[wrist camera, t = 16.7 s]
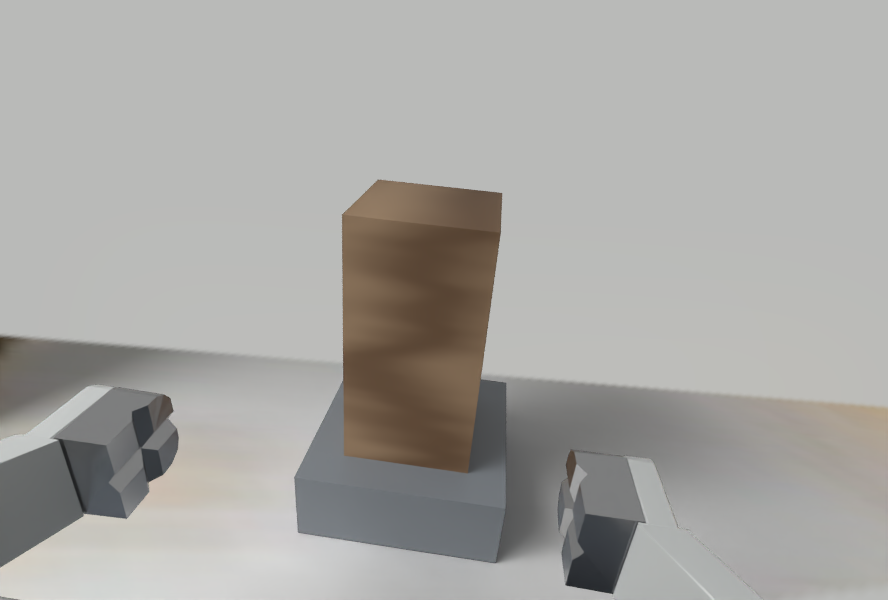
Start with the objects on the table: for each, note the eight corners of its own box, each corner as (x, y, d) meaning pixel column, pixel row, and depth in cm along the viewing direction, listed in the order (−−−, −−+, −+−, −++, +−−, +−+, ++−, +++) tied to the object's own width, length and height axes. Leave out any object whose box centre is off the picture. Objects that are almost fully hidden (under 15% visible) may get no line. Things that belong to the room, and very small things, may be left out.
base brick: (297, 532, 21) (294, 477, 19) (351, 408, 28) (352, 362, 26) (495, 563, 20) (505, 508, 19) (498, 429, 27) (506, 382, 26)
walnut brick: (343, 455, 20) (342, 214, 16) (373, 383, 25) (378, 179, 20) (467, 473, 20) (500, 232, 16) (475, 397, 25) (502, 193, 20)
